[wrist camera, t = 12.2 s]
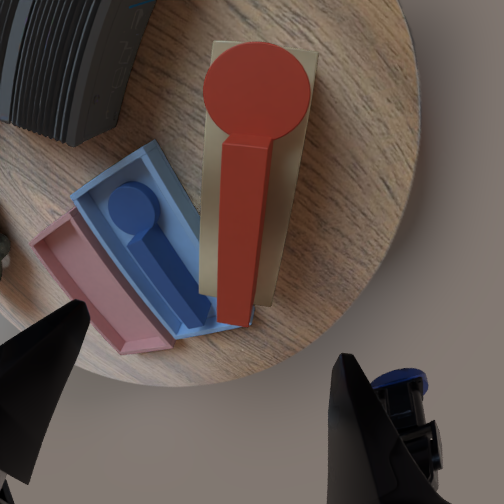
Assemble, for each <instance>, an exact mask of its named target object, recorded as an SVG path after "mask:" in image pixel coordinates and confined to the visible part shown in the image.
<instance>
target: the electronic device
mask: <svg viewBox="0 0 504 504" xmlns="http://www.w3.org/2000/svg"><path fill="white" fill-rule="evenodd" d="M155 3H156V0H0V121H2V122H5V123H8V124H10V123H11V121H12V124H13V125H14V126H16V125H17V126H18V127H19V128H20V127H22V128H23V129H27V130H28V131H31V130H32V132H33V133H36V132H37V133H38V134H39V135H41V134H43V135H44V136H45V137H47V136H48V137H49V138H50V139H52V138H54V139H55V140H56V141H59V140H60V141H61V142H62V143H67V144H68V146H71V147H76V146H78V145H80V144H82V143H83V142H85V141H87V140H89V139H91V138H93V137H95V136H97V135H99V134H101V133H103V132H105V131H108V130H110V129H112V128H114V127H116V123H117V119H118V115H119V111H120V107H121V104H122V100H123V96H124V92H125V89H126V85H127V82H128V78H129V75H130V72H131V68H132V65H133V62H134V59H135V56H136V53H137V50H138V47H139V44H140V41H141V38H142V36H143V33H144V30H145V28H146V25H147V22H148V20H149V17H150V15H151V12H152V10H153V7H154V5H155Z"/></svg>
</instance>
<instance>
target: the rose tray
mask: <svg viewBox="0 0 504 504" xmlns="http://www.w3.org/2000/svg"><path fill="white" fill-rule="evenodd" d="M28 244H29V245H30V247H31V248H32V250H33V251H34V252H35V254H36V255H37V257H38V258H39V259H40V261H41V262H42V264H43V265H44V266H45V268H46V269H47V270H48V272H49V273H50V274H51V276H52V277H53V278H54V280H55V281H56V282H57V284H58V285H59V286H60V287H61V289H62V290H63V291H64V292H65V294H66V295H67V296H68V297H69V299H70V300H71V301H72V300H74V299H78V300H82V301H84V302H85V303H86V305H87V308H88V311H89V314H90V318H91V319H90V323H91V324H92V325H93V327H94V328H95V329H96V330H97V331H98V332H99V333H100V334H101V335H102V336H103V338H104V339H105V340H106V341H107V342H108V343H109V344H110V345H111V346H112V347H113V348H114V349H115V350H116V351H117V352H118V353H119V354H120V355H127V354H135V353H143V352H151V351H158V350H165V349H171V348H173V347H174V345H175V342H176V340H175V338H174V337H173V336H172V335H171V334H170V333H169V331H168V330H167V329H166V328H165V327H164V326H163V324H162V323H161V322H160V321H159V320H158V318H157V317H156V316H155V315H154V313H153V312H152V311H151V310H150V309H149V307H148V306H147V305H146V304H145V302H144V301H143V300H142V299H141V297H140V296H139V295H138V293H137V292H136V291H135V290H134V288H133V287H132V286H131V284H130V283H129V282H128V280H127V279H126V278H125V276H124V275H123V274H122V272H121V271H120V270H119V268H118V267H117V266H116V264H115V263H114V262H113V260H112V259H111V257H110V256H109V255H108V253H107V252H106V250H105V249H104V248H103V246H102V245H101V243H100V242H99V240H98V239H97V237H96V236H95V234H94V233H93V232H92V230H91V229H90V227H89V226H88V224H87V223H86V221H85V220H84V218H83V216H82V215H81V213H80V212H79V210H78V209H77V207H76V206H75V207H74V208H72V209H71V210H70V211H68V212H67V213H65V214H64V215H63V216H61V217H60V218H58V219H57V220H56V221H54V222H53V223H52V224H50V225H49V226H48V227H46V228H45V229H44V230H42V231H41V232H40V233H39V234H38V235H37V236H35V237H34V238H33V239H32V240H31V241H30V242H29V243H28Z"/></svg>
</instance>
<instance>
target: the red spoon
mask: <svg viewBox="0 0 504 504" xmlns="http://www.w3.org/2000/svg"><path fill="white" fill-rule="evenodd" d="M203 97H204V103H205V106H206V109H207V111H208V114H209V115H210V117H211V119H212V120H213V121H214V123H215V124H216V125H217V126H218V127H219V128H220V129H221V130H222V131H224V132H225V133H227V134H228V135H230V136H229V137H228V138H227V139H226V140H225V141H224V142H223V143H222V155H221V176H220V200H219V228H218V267H217V322H218V323H224V324H230V325H235V326H242V327H249V323H250V318H251V313H252V308H253V303H254V298H255V293H256V285H257V277H258V269H259V260H260V252H261V244H262V235H263V227H264V218H265V210H266V201H267V193H268V184H269V175H270V167H271V158H272V149H273V140H276V139H279V138H281V137H283V136H285V135H287V134H288V133H290V132H291V131H293V130H294V129H295V128H296V127H297V126H298V125H299V124H300V122H301V121H302V120H303V118H304V116H305V114H306V113H307V110H308V107H309V104H310V98H311V88H310V82H309V78H308V76H307V73H306V71H305V69H304V67H303V66H302V64H301V63H300V62H299V61H298V60H297V59H296V57H295V56H293V55H292V54H291V53H290V52H288V51H287V50H285V49H283V48H282V47H279V46H277V45H274V44H270V43H266V42H246V43H242V44H238V45H236V46H233V47H231V48H229V49H228V50H226V51H225V52H223V53H222V54H221V55H219V56H218V57H217V58H216V59H215V61H214V62H213V63H212V64H211V66H210V68H209V70H208V72H207V74H206V77H205V80H204V86H203Z"/></svg>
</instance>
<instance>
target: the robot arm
mask: <svg viewBox="0 0 504 504" xmlns="http://www.w3.org/2000/svg"><path fill="white" fill-rule="evenodd" d="M90 319H91V318H90V314H89V311H88V308H87V305H86V303H85V302H84V301H82V300H78V299H74V300H72V301H71V302H69V303H67V304H66V305H64V306H62V307H61V308H59V309H57V310H56V311H54V312H52V313H51V314H49V315H48V316H46V317H44V318H43V319H41V320H39V321H38V322H36V323H35V324H33V325H31V326H30V327H28V328H27V329H25V330H24V331H22V332H20V333H19V334H17V335H16V336H14V337H13V338H11V339H10V340H8V341H6V342H5V343H4V344H2V345H1V346H0V504H14V501H13V498H12V495H11V492H10V490H9V487H8V484H7V480H6V479H5V478H6V475H7V474H8V475H10V476H12V477H14V478H15V479H18V480H19V481H21V482H23V483H25V484H27V485H28V484H29V482H30V479H31V475H32V472H33V469H34V465H35V463H36V460H37V457H38V454H39V451H40V448H41V445H42V442H43V439H44V436H45V433H46V431H47V428H48V426H49V423H50V420H51V418H52V415H53V413H54V410H55V408H56V405H57V403H58V400H59V398H60V395H61V393H62V391H63V388H64V386H65V384H66V381H67V379H68V377H69V375H70V372H71V370H72V368H73V366H74V364H75V362H76V359H77V357H78V354H79V352H80V349H81V346H82V343H83V340H84V338H85V335H86V332H87V329H88V327H89V324H90ZM422 401H423V378H422V377H417V378H413V379H410V380H406V381H403V382H399V383H395V384H391V385H387V386H383V387H379V388H375V389H373V388H372V386H371V384H370V383H369V381H368V379H367V377H366V376H365V374H364V372H363V370H362V369H361V367H360V365H359V364H358V362H357V360H356V359H355V357H354V355H352V354H348V353H341V354H340V355H339V357H338V359H337V361H336V363H335V365H334V366H333V370H332V377H331V388H330V399H329V409H328V490H327V504H451V503H449V502H447V501H446V500H444V499H443V498H442V497H441V496H440V495H439V494H438V493H437V492H436V491H437V489H438V470H440V469H442V468H443V462H442V443H441V438H440V432H439V429H438V426H437V424H436V422H435V420H433V421H431V422H430V423H427V424H426V421H425V415H424V409H423V404H422ZM431 438H432V439H433V440H430V439H431Z"/></svg>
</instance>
